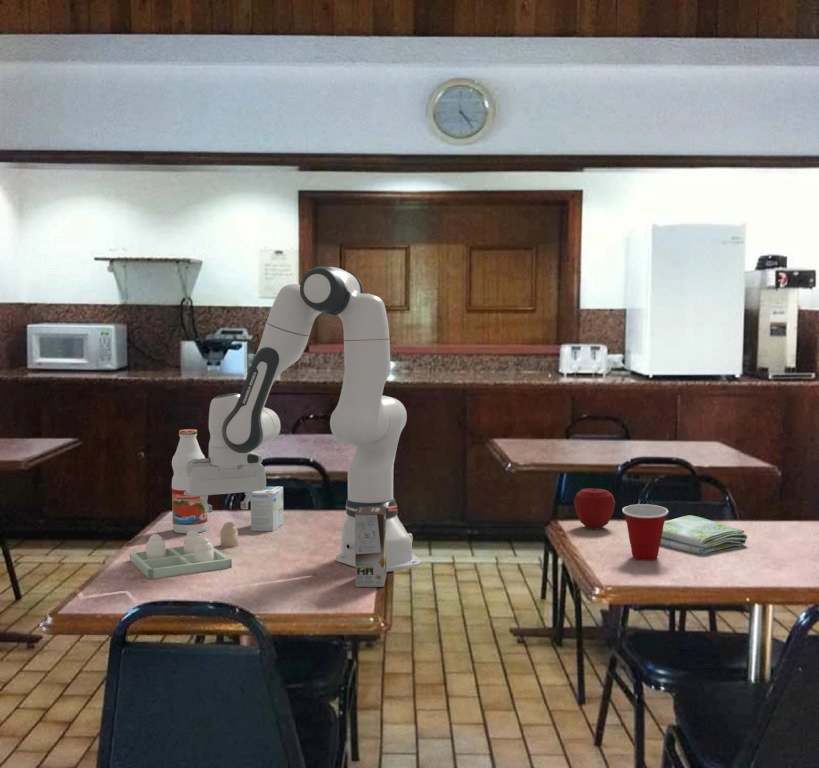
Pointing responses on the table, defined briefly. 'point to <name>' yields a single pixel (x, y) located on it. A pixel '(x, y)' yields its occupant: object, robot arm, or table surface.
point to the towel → (700, 535)
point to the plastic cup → (645, 529)
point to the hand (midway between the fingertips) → (226, 510)
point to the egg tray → (177, 563)
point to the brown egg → (229, 535)
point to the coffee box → (370, 546)
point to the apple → (594, 507)
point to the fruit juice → (184, 506)
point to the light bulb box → (267, 509)
